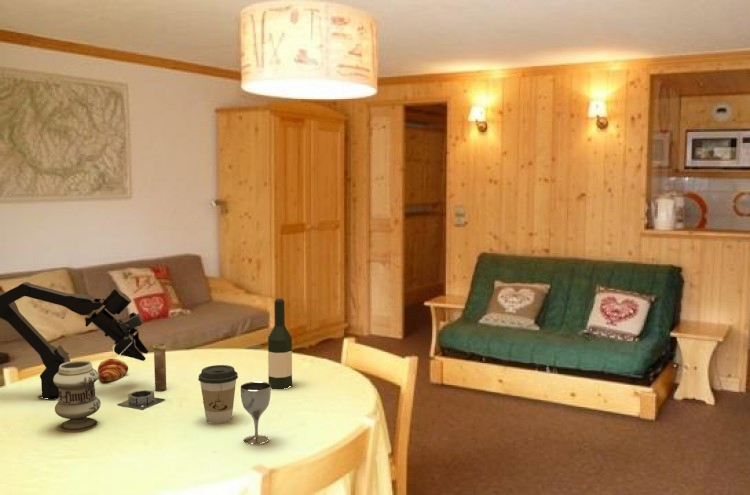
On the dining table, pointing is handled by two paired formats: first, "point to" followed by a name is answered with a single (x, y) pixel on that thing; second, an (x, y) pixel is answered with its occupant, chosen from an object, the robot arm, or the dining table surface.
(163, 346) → the tall ribbed vase
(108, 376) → the croissant
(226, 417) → the coffee cup
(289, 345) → the wine bottle
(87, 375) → the apothecary jar
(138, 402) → the cup bracket
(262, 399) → the wine glass
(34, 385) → the dining table surface
